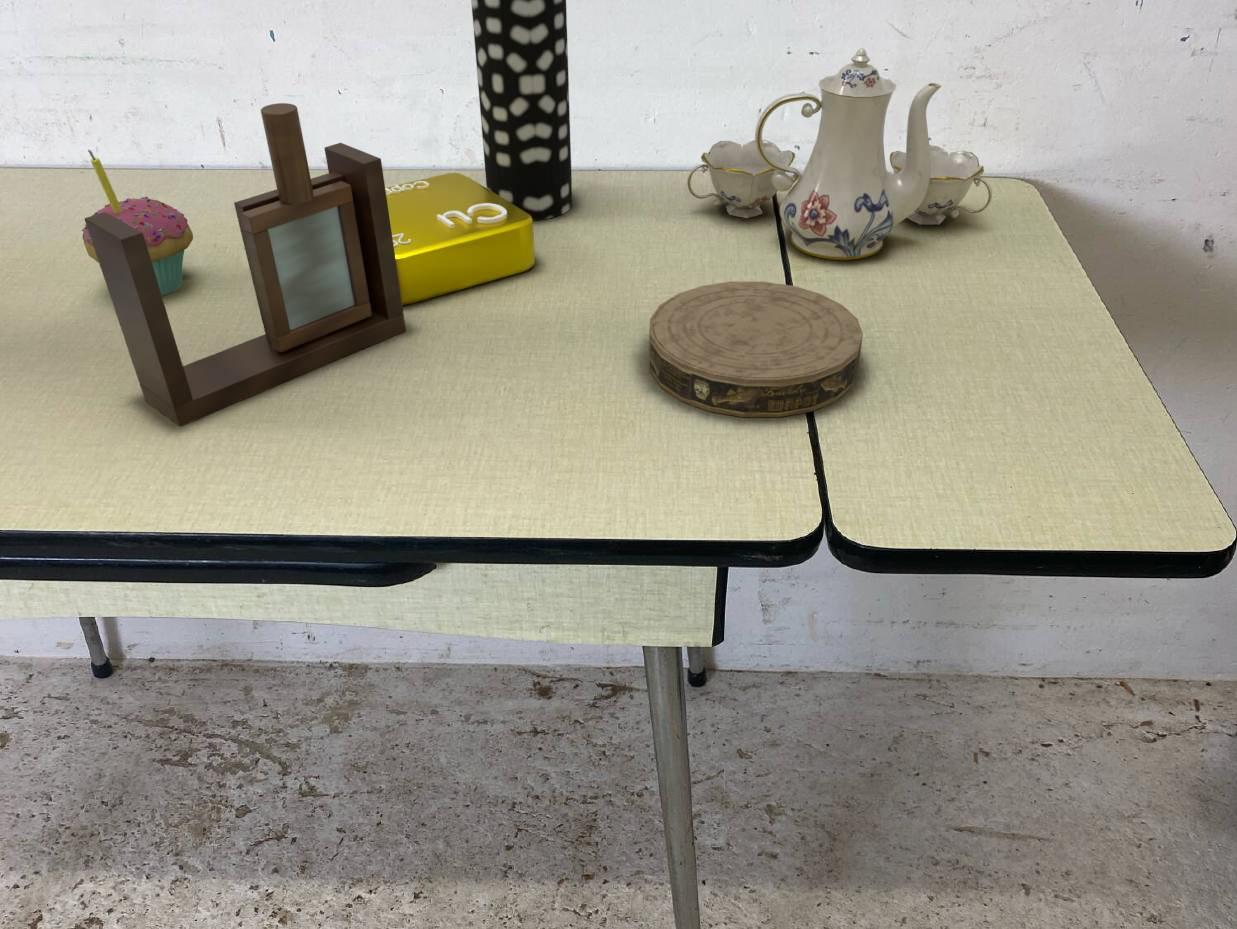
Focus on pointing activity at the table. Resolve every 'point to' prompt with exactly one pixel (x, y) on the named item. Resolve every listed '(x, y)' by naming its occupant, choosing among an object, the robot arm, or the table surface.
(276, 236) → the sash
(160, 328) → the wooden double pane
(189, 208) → the table surface
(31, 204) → the table surface
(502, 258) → the element tile
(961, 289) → the table surface
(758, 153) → the chinaware
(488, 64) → the spotted tube
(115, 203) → the cupcake
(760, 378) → the brown flat banded disc
